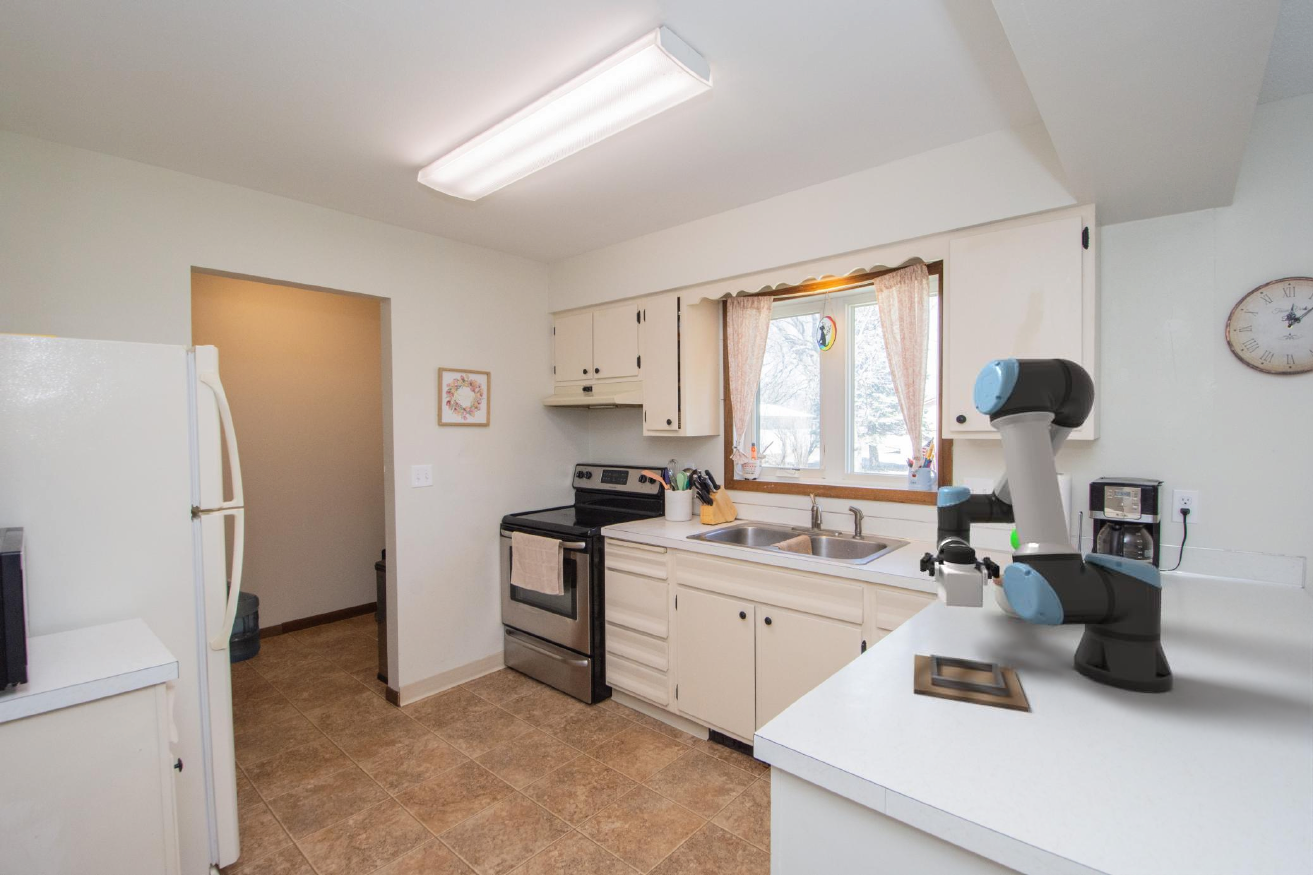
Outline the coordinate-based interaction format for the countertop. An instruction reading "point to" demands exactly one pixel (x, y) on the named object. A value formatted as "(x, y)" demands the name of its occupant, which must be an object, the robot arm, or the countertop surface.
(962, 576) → the medicine bottle
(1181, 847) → the countertop surface
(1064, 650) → the countertop surface
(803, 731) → the countertop surface
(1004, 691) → the dock
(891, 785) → the countertop surface
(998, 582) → the lidded bowl
